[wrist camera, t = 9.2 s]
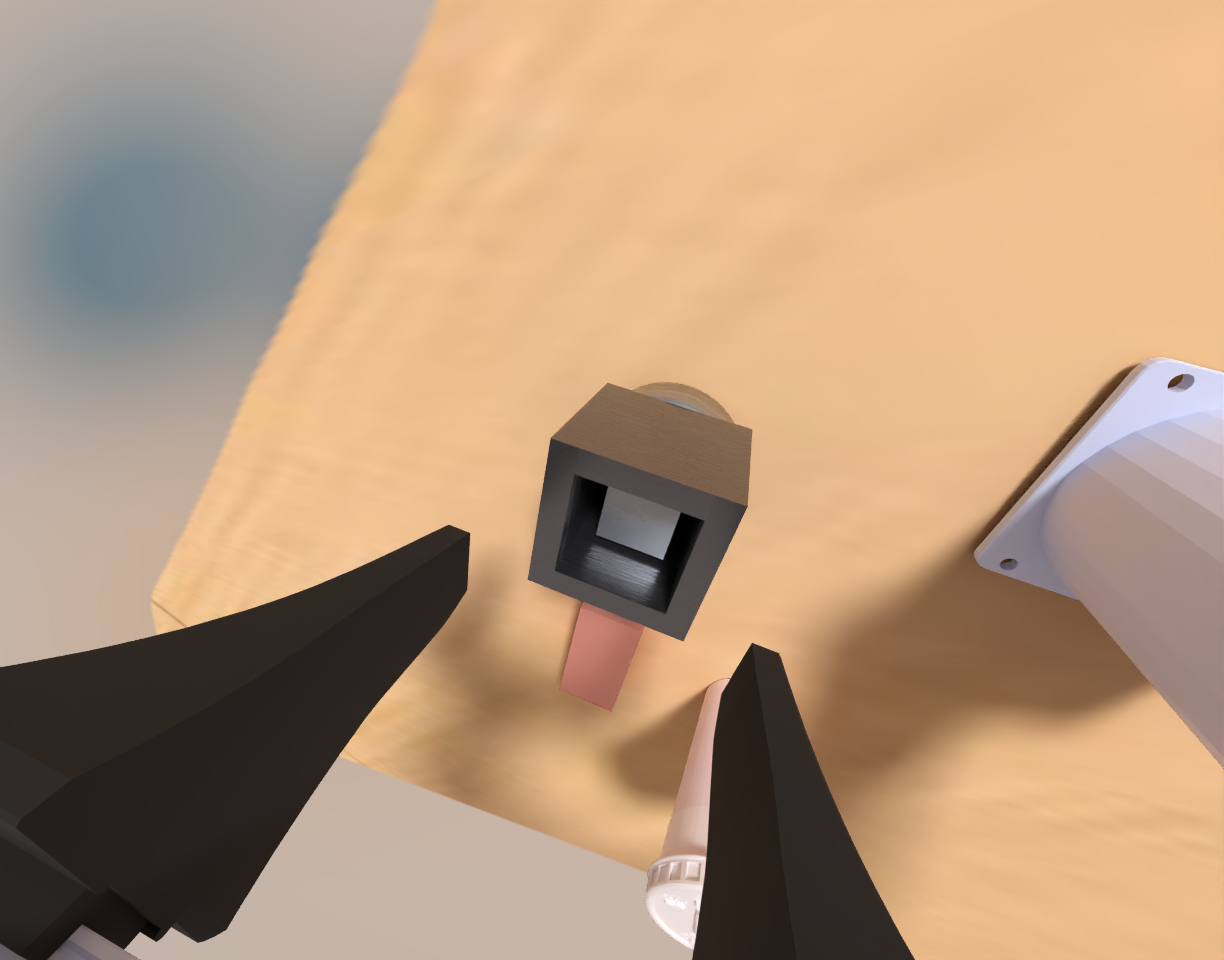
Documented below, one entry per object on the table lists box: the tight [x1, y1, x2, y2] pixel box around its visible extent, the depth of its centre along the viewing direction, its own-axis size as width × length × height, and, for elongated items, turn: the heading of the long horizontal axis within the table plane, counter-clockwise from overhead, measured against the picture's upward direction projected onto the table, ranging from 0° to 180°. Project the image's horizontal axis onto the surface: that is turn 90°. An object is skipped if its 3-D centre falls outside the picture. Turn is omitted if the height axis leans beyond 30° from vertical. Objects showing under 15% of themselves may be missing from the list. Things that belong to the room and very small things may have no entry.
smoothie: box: [645, 679, 730, 951], centre depth 19 cm, size 6×6×14 cm
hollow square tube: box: [528, 383, 752, 641], centre depth 15 cm, size 5×5×5 cm
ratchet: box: [559, 383, 734, 712], centre depth 20 cm, size 18×6×5 cm, turn 167°
